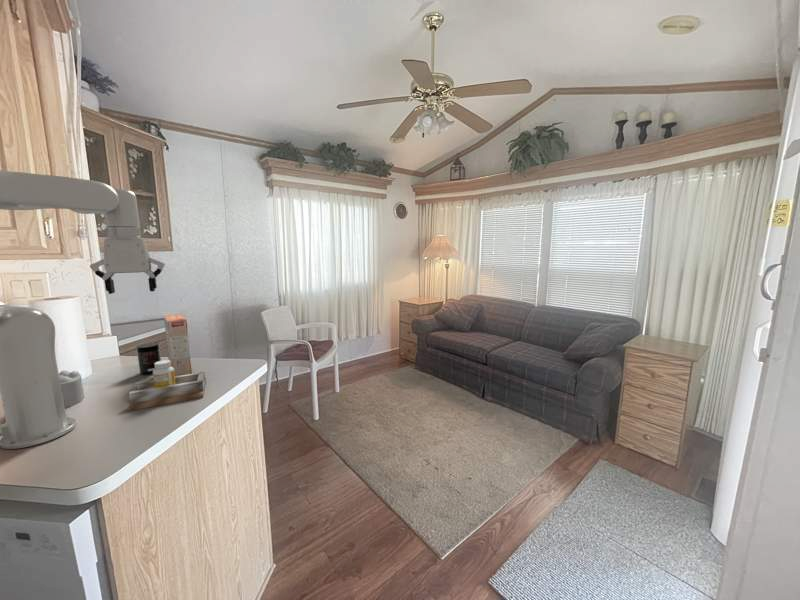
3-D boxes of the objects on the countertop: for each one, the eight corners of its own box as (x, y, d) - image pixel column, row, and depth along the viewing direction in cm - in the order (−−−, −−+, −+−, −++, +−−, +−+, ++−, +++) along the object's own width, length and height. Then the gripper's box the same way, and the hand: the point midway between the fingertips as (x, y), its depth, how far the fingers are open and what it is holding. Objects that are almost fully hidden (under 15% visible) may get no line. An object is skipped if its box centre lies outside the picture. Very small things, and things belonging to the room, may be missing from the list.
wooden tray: (128, 410, 92) (126, 396, 91) (141, 392, 104) (139, 379, 103) (203, 397, 100) (201, 384, 99) (206, 381, 112) (205, 369, 111)
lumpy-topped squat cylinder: (31, 415, 90) (25, 385, 89) (38, 400, 100) (33, 373, 98) (83, 403, 97) (78, 375, 95) (85, 390, 106) (81, 364, 105)
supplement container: (159, 367, 127) (156, 341, 125) (165, 371, 122) (161, 344, 121) (137, 372, 121) (133, 345, 120) (142, 376, 117) (139, 348, 116)
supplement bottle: (162, 396, 97) (158, 366, 96) (151, 394, 99) (147, 364, 98) (180, 389, 102) (176, 360, 101) (169, 387, 104) (165, 358, 103)
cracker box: (193, 375, 118) (187, 318, 115) (173, 379, 114) (166, 321, 111) (188, 365, 128) (181, 313, 125) (169, 369, 125) (162, 315, 122)
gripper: (79, 232, 88) (89, 295, 90) (158, 233, 95) (165, 291, 98) (90, 234, 94) (99, 293, 97) (163, 234, 102) (169, 289, 105)
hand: (132, 292), depth 97 cm, fingers open, 9 cm apart
